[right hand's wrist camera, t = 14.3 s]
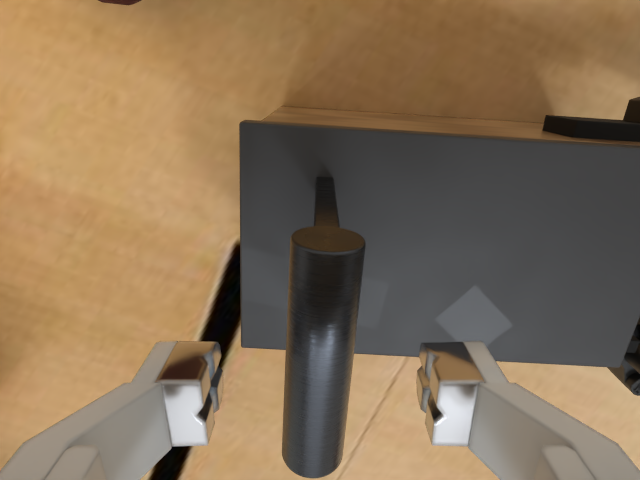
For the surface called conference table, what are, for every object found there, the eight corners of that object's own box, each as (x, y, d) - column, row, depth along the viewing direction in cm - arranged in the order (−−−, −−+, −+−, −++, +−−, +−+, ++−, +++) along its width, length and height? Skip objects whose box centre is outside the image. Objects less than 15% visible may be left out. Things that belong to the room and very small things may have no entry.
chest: (277, 257, 29) (257, 335, 20) (281, 106, 25) (260, 120, 17) (520, 271, 29) (606, 354, 21) (559, 124, 26) (683, 147, 17)
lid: (244, 335, 20) (190, 517, 12) (243, 119, 16) (164, 161, 8) (606, 355, 21) (803, 545, 12) (684, 148, 17) (1042, 216, 8)
